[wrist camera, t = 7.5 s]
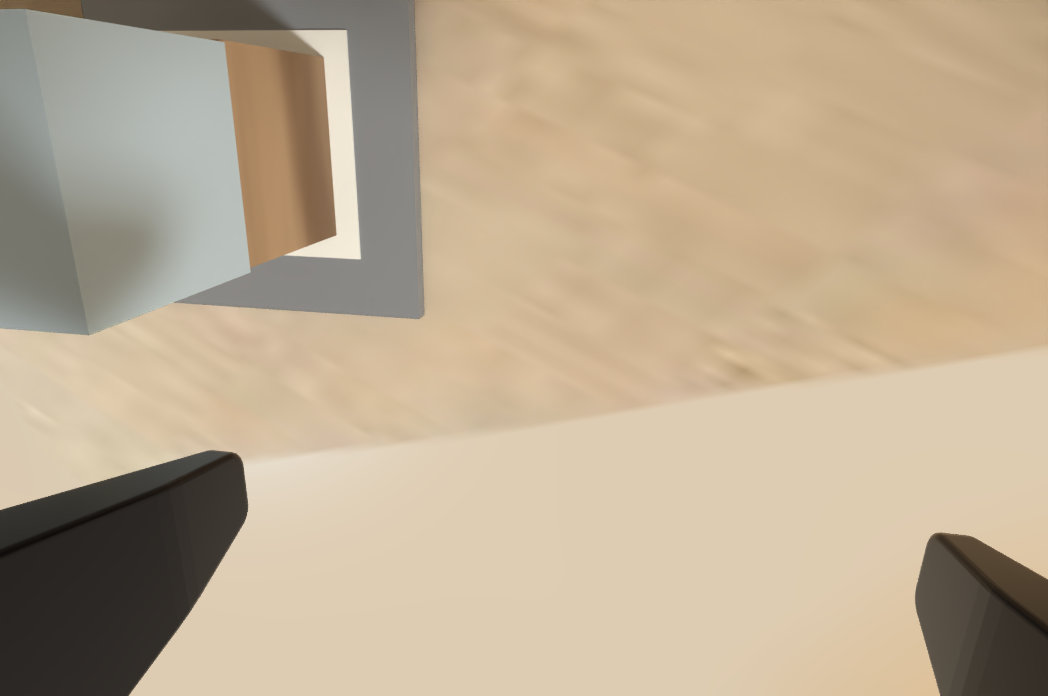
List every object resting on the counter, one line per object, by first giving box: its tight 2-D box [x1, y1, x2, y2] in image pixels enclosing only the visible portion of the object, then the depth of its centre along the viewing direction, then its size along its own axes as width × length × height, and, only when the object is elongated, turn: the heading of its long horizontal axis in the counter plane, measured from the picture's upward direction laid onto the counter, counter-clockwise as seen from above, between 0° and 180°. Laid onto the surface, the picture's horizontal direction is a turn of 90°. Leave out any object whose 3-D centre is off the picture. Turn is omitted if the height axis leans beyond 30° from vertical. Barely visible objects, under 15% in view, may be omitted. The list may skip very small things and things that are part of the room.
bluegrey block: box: [0, 9, 251, 335], centre depth 14 cm, size 5×5×5 cm
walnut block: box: [209, 39, 337, 268], centre depth 18 cm, size 5×5×5 cm
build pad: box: [81, 0, 424, 319], centre depth 21 cm, size 10×10×1 cm
